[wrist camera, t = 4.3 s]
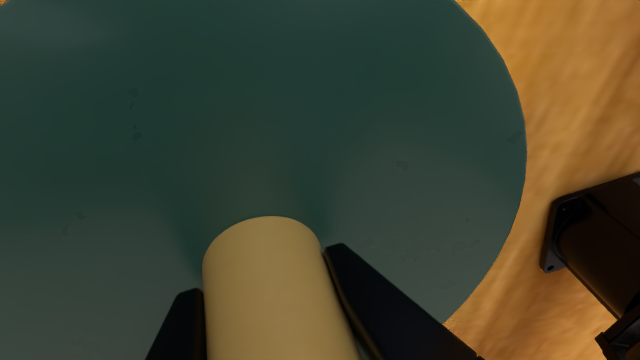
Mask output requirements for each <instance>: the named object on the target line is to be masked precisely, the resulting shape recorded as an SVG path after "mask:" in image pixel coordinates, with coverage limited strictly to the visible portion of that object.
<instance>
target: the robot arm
mask: <svg viewBox="0 0 640 360" xmlns="http://www.w3.org/2000/svg"><path fill="white" fill-rule="evenodd" d="M323 254H324V258H325V261H326V263H327V266H328V269H329V271H330V274H331V277H332V280H333V282H334V285H335V288H336V290H337V293H338V296H339V298H340V301H341V304H342V307H343V309H344V312H345V314H346V317H347V319H348V322H349V324H350V327H351V330H352V332H353V335H354V338H355V340H356V343H357V346H358V348H359V351H360V354H361V357H362V359H363V360H485V359H484V358H482V357H481V356H478V357H477V354H476V352H475V351H474V350H472V349H471V348H470V347H469V346H468V345H466V344H465V343H464V342H463V341H461V340H460V339H459V338H458V337H457V336H455V335H454V334H453V333H452V332H451V331H449V330H448V329H447V328H446V327H445V326H443V325H442V324H441V323H440V322H439V321H437V320H436V319H435V318H434V317H433V316H431V315H430V314H429V313H428V312H426V311H425V310H424V309H423V308H422V307H420V306H419V305H418V304H417V303H416V302H414V301H413V300H412V299H411V298H410V297H408V296H407V295H406V294H405V293H404V292H402V291H401V290H400V289H399V288H398V287H396V286H395V285H394V284H393V283H391V282H390V281H389V280H388V279H387V278H385V277H384V276H383V275H382V274H381V273H379V272H378V271H377V270H376V269H375V268H373V267H372V266H371V265H370V264H369V263H367V262H366V261H365V260H364V259H363V258H361V257H360V256H359V255H358V254H356V253H355V252H354V251H353V250H352V249H350V248H349V247H348V246H347V245H346V244H344V243H337V244H334V245H330V246H327V247H325V248H324V249H323ZM565 267H567V268H568V269H569V270H570V271H571V272H572V274H573V275H574V276H575V277H576V278H577V279H578V280H579V281H580V282H581V283H582V284H583V285H584V286H585V287H586V288H587V289H588V290H589V291H590V292H591V293H592V294H593V295H594V296H595V297H596V298H597V299H598V300H599V302H600V303H601V304H602V305H603V306H604V307H605V308H606V309H607V310H608V311H609V312H610V313H611V314H612V315H613V316H614V317H615V318H616V319H617V321H616V322H615V323H614V324H613V325H612V326H611V327H610V328H608V329H607V330H606V331H605V332H601V333H600V334H599V335H598V336H597V337H595V340H596V342H597V343H598V345H599V346H600V348H601V349H602V352H603V354H604V356H605V357H606V359H607V360H640V172H638V173H635V174H632V175H628V176H625V177H622V178H619V179H616V180H613V181H610V182H606V183H603V184H600V185H597V186H594V187H591V188H587V189H584V190H581V191H578V192H575V193H572V194H569V195H565V196H562V197H560V198H558V199H556V200H555V201H554V203H553V205H552V209H551V214H550V219H549V224H548V229H547V234H546V239H545V244H544V248H543V253H542V258H541V263H540V268H541V269H542V270H543V271H544V272H545V273H550V272H553V271H556V270H559V269H562V268H565ZM145 360H207V348H206V330H205V313H204V295H203V292H202V290H201V289H200V288H192V289H189V290H186V291H183V292H180V293H178V294H177V295H176V297H175V299H174V301H173V303H172V305H171V307H170V309H169V311H168V313H167V315H166V317H165V319H164V321H163V323H162V325H161V327H160V329H159V331H158V333H157V335H156V338H155V340H154V342H153V344H152V346H151V348H150V350H149V352H148V354H147V356H146V358H145Z"/></svg>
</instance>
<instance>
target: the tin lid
mask: <svg viewBox="0 0 640 360" xmlns="http://www.w3.org/2000/svg"><path fill="white" fill-rule="evenodd" d="M526 161H527V142H526V130H525V120H524V116H523V112H522V108H521V104H520V100H519V96H518V92H517V89H516V87H515V85H514V83H513V80H512V78H511V76H510V74H509V71H508V69H507V67H506V65H505V62H504V60H503V58H502V57H501V55H500V54H499V52H498V51H497V49H496V48H495V47H494V45H493V44H492V42H491V41H490V39H489V38H488V36H487V35H486V33H485V32H484V30H483V29H482V28H481V27H480V26H479V25H478V24H477V23H476V22H475V21H474V20H473V19H472V18H471V17H470V16H469V15H468V13H467V12H466V11H465V10H464V9H463V8H462V7H461V6H460V5H459V4H458V3H457V2H456V1H455V0H7V1H5V2H4V3H3V4H1V5H0V360H145V358H146V356H147V354H148V352H149V350H150V348H151V346H152V344H153V342H154V340H155V338H156V335H157V333H158V331H159V329H160V327H161V325H162V323H163V321H164V319H165V317H166V315H167V313H168V311H169V309H170V307H171V305H172V303H173V301H174V299H175V297H176V295H177V294H178V293H180V292H183V291H186V290H189V289H192V288H200V289H201V290H202V292H203V295H204V313H205V330H206V348H207V360H363V359H362V357H361V354H360V351H359V348H358V346H357V343H356V340H355V338H354V335H353V332H352V330H351V327H350V324H349V322H348V319H347V317H346V314H345V312H344V309H343V307H342V304H341V301H340V298H339V296H338V293H337V290H336V288H335V285H334V282H333V280H332V277H331V274H330V271H329V269H328V266H327V263H326V261H325V258H324V254H323V249H324V248H325V247H327V246H330V245H334V244H337V243H344V244H346V245H347V246H348V247H349V248H350V249H352V250H353V251H354V252H355V253H356V254H358V255H359V256H360V257H361V258H363V259H364V260H365V261H366V262H367V263H369V264H370V265H371V266H372V267H373V268H375V269H376V270H377V271H378V272H379V273H381V274H382V275H383V276H384V277H385V278H387V279H388V280H389V281H390V282H391V283H393V284H394V285H395V286H396V287H398V288H399V289H400V290H401V291H402V292H404V293H405V294H406V295H407V296H408V297H410V298H411V299H412V300H413V301H414V302H416V303H417V304H418V305H419V306H420V307H422V308H423V309H424V310H425V311H426V312H428V313H429V314H430V315H431V316H433V317H434V318H435V319H436V320H437V321H439V322H440V323H441V324H443V323H444V322H445V321H446V320H447V319H449V318H450V317H451V316H452V315H453V313H454V312H455V311H456V310H457V309H458V308H459V307H460V306H461V305H462V304H463V303H464V302H465V301H466V300H467V299H468V297H469V296H470V295H471V294H472V292H473V291H474V290H475V289H476V287H477V286H478V285H479V284H480V282H481V281H482V280H483V278H484V277H485V275H486V274H487V272H488V271H489V269H490V268H491V266H492V265H493V263H494V261H495V260H496V258H497V257H498V255H499V253H500V251H501V249H502V247H503V245H504V243H505V241H506V239H507V237H508V235H509V233H510V231H511V228H512V225H513V222H514V220H515V217H516V214H517V211H518V208H519V205H520V201H521V196H522V191H523V187H524V182H525V175H526Z"/></svg>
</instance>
